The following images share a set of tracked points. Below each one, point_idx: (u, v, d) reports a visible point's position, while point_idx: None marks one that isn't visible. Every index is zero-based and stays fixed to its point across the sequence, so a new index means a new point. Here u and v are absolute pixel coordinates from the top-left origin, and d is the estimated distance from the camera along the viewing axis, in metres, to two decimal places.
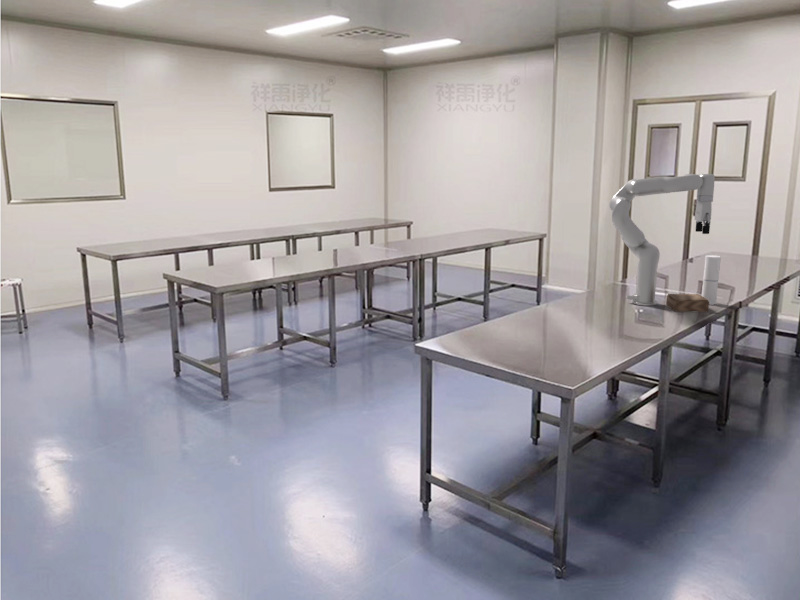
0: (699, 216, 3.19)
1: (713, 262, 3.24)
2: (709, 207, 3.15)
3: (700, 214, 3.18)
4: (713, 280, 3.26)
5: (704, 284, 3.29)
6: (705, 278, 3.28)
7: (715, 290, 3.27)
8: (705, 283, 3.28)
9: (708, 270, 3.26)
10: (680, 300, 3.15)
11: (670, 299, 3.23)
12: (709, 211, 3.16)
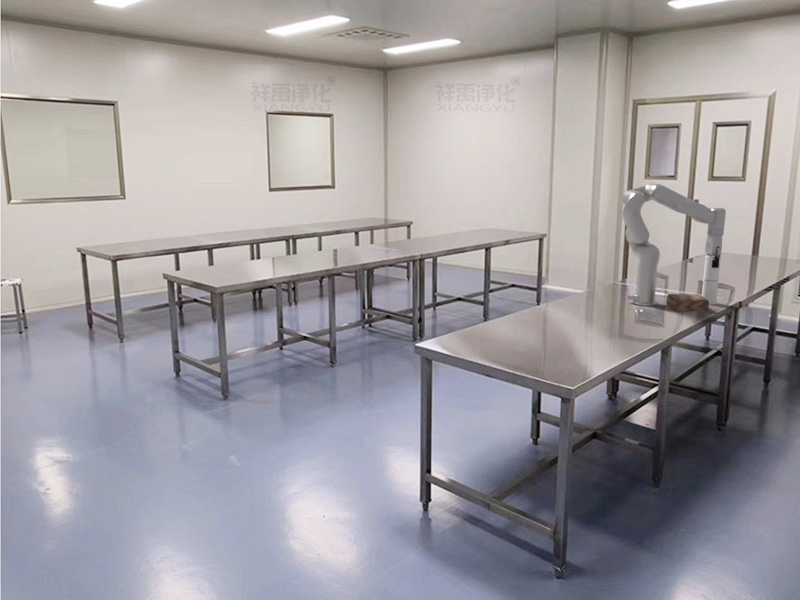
0: (710, 249, 3.24)
1: None
2: (720, 241, 3.20)
3: (711, 247, 3.23)
4: (713, 280, 3.26)
5: (704, 284, 3.29)
6: (705, 278, 3.28)
7: (715, 290, 3.27)
8: (705, 283, 3.28)
9: (708, 270, 3.26)
10: (680, 300, 3.15)
11: (670, 299, 3.23)
12: (720, 245, 3.20)
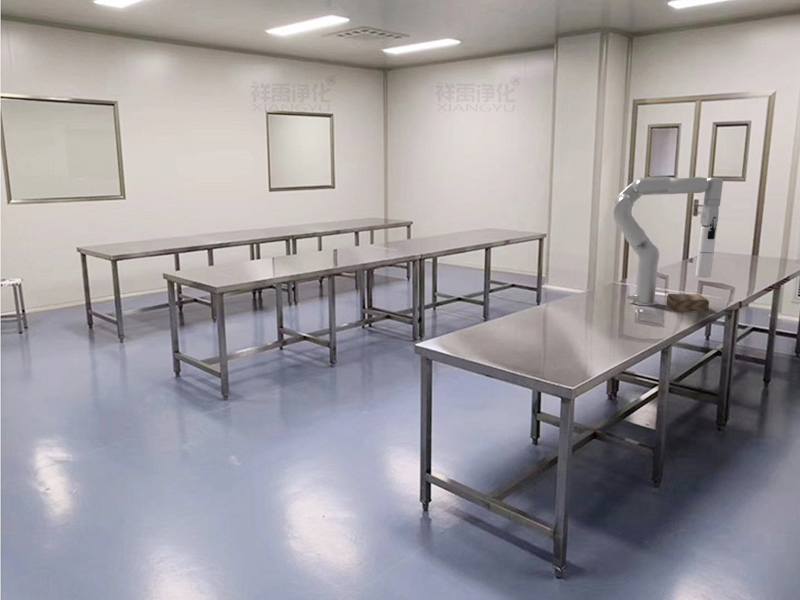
0: (706, 220, 3.15)
1: None
2: (716, 211, 3.12)
3: (707, 218, 3.14)
4: (708, 252, 3.18)
5: (699, 256, 3.21)
6: (700, 250, 3.20)
7: (711, 262, 3.19)
8: (700, 255, 3.20)
9: (704, 242, 3.18)
10: (680, 300, 3.15)
11: (670, 299, 3.23)
12: (716, 215, 3.12)
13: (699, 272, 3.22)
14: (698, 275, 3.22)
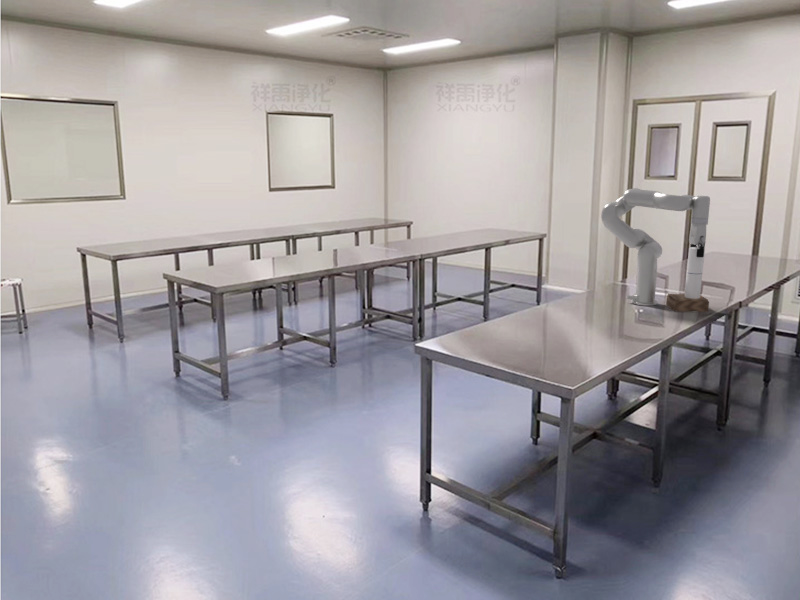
0: (693, 239, 3.11)
1: None
2: (704, 230, 3.07)
3: (694, 237, 3.10)
4: (697, 273, 3.13)
5: (687, 277, 3.17)
6: (689, 271, 3.15)
7: (699, 283, 3.15)
8: (688, 276, 3.16)
9: (692, 263, 3.13)
10: (680, 300, 3.15)
11: (670, 299, 3.23)
12: (704, 234, 3.07)
13: (688, 293, 3.17)
14: (687, 296, 3.18)
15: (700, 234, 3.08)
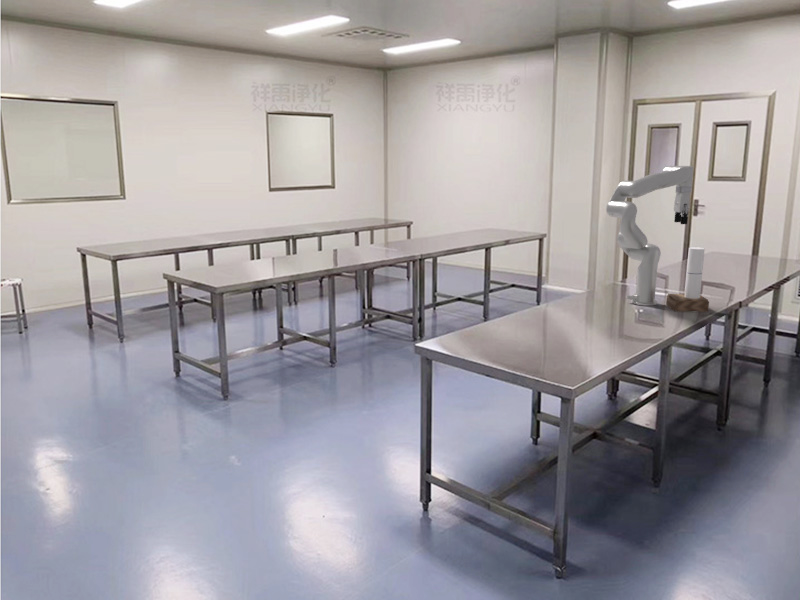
0: (678, 207, 3.28)
1: (696, 254, 3.11)
2: (687, 198, 3.25)
3: (679, 205, 3.27)
4: (697, 273, 3.13)
5: (687, 277, 3.17)
6: (688, 271, 3.16)
7: (699, 283, 3.15)
8: (688, 276, 3.16)
9: (691, 263, 3.13)
10: (680, 300, 3.15)
11: (670, 299, 3.23)
12: (687, 202, 3.25)
13: (688, 293, 3.17)
14: (687, 296, 3.18)
15: (684, 202, 3.25)
